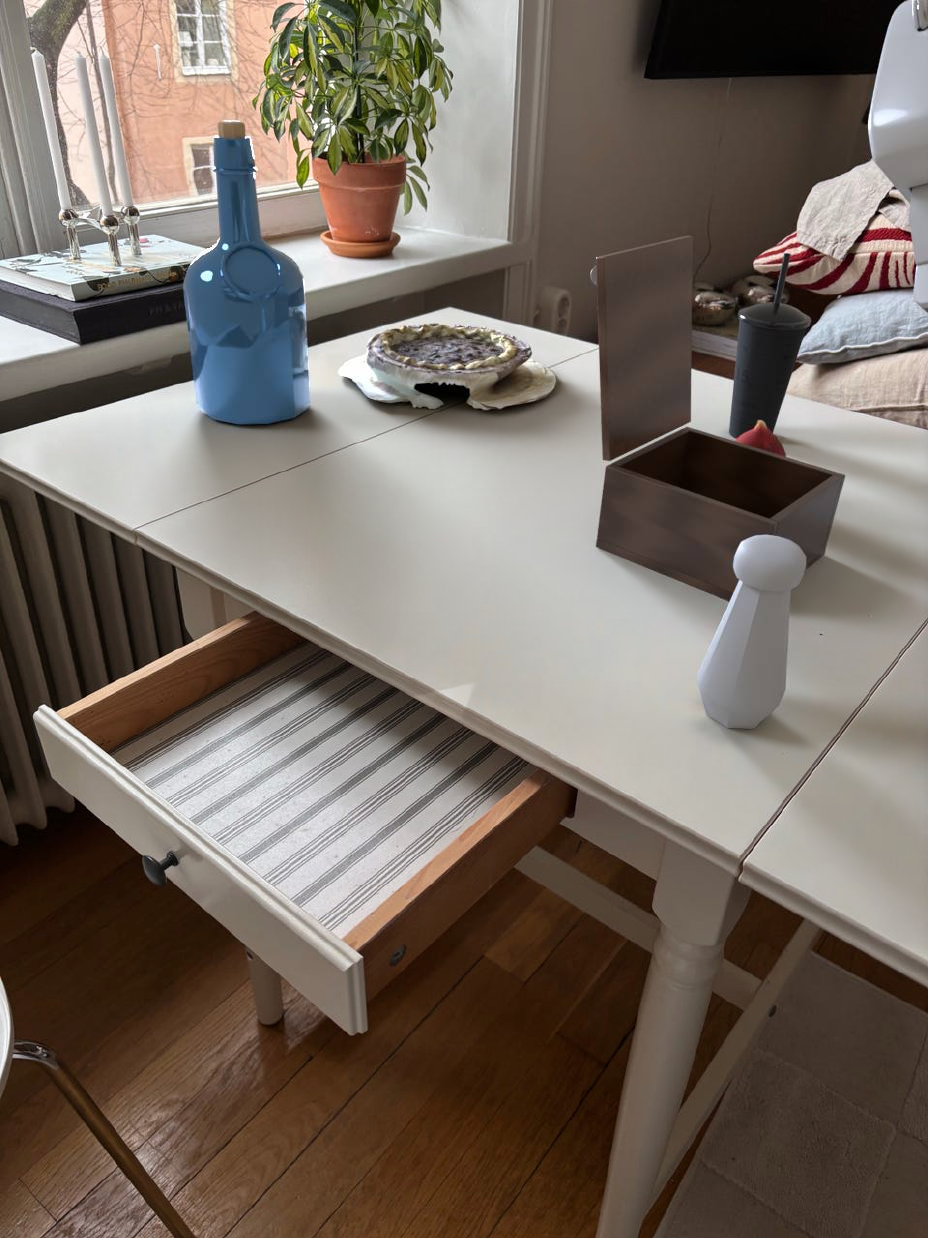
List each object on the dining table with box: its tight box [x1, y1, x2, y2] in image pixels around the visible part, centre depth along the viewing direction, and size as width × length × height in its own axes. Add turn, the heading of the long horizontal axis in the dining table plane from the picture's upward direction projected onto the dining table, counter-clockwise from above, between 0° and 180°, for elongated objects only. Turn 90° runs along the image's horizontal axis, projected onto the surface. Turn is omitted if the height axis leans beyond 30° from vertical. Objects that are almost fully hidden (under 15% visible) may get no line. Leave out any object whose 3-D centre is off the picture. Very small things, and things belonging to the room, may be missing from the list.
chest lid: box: [590, 235, 693, 462], centre depth 83 cm, size 16×14×4 cm
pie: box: [337, 322, 557, 411], centre depth 122 cm, size 28×27×5 cm
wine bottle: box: [182, 119, 311, 425], centre depth 104 cm, size 14×13×30 cm
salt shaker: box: [696, 535, 806, 730], centre depth 63 cm, size 6×6×13 cm
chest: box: [595, 426, 846, 602], centre depth 84 cm, size 16×14×8 cm
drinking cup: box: [728, 252, 812, 440], centre depth 105 cm, size 8×8×20 cm
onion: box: [734, 420, 787, 457], centre depth 94 cm, size 6×6×8 cm
